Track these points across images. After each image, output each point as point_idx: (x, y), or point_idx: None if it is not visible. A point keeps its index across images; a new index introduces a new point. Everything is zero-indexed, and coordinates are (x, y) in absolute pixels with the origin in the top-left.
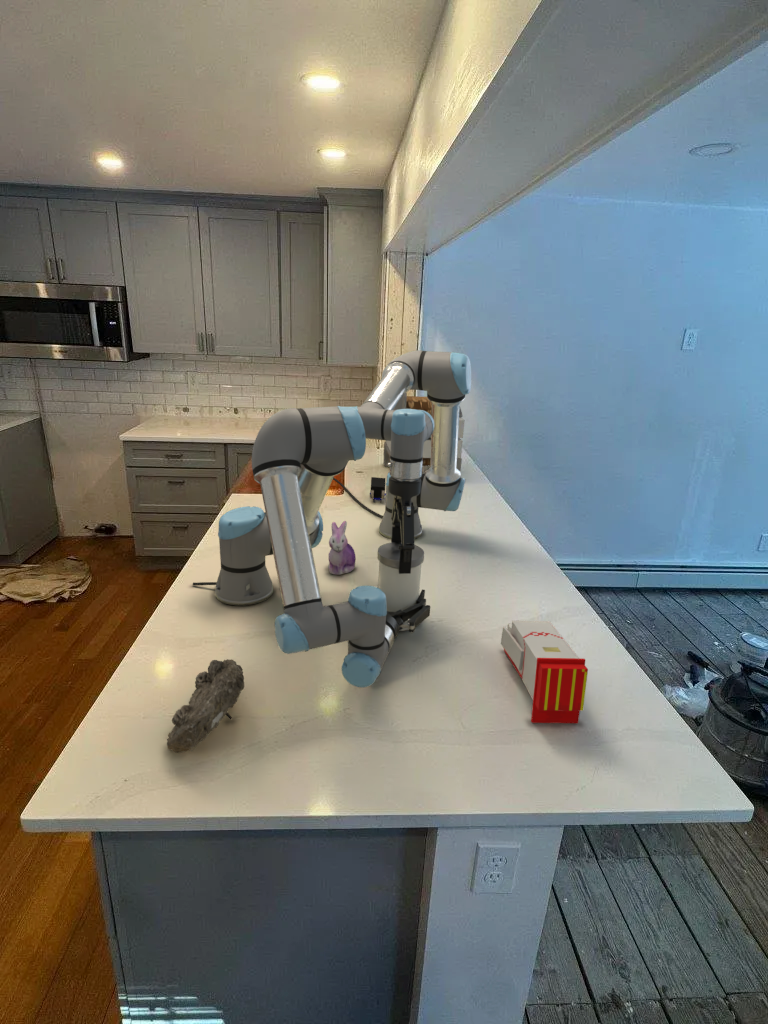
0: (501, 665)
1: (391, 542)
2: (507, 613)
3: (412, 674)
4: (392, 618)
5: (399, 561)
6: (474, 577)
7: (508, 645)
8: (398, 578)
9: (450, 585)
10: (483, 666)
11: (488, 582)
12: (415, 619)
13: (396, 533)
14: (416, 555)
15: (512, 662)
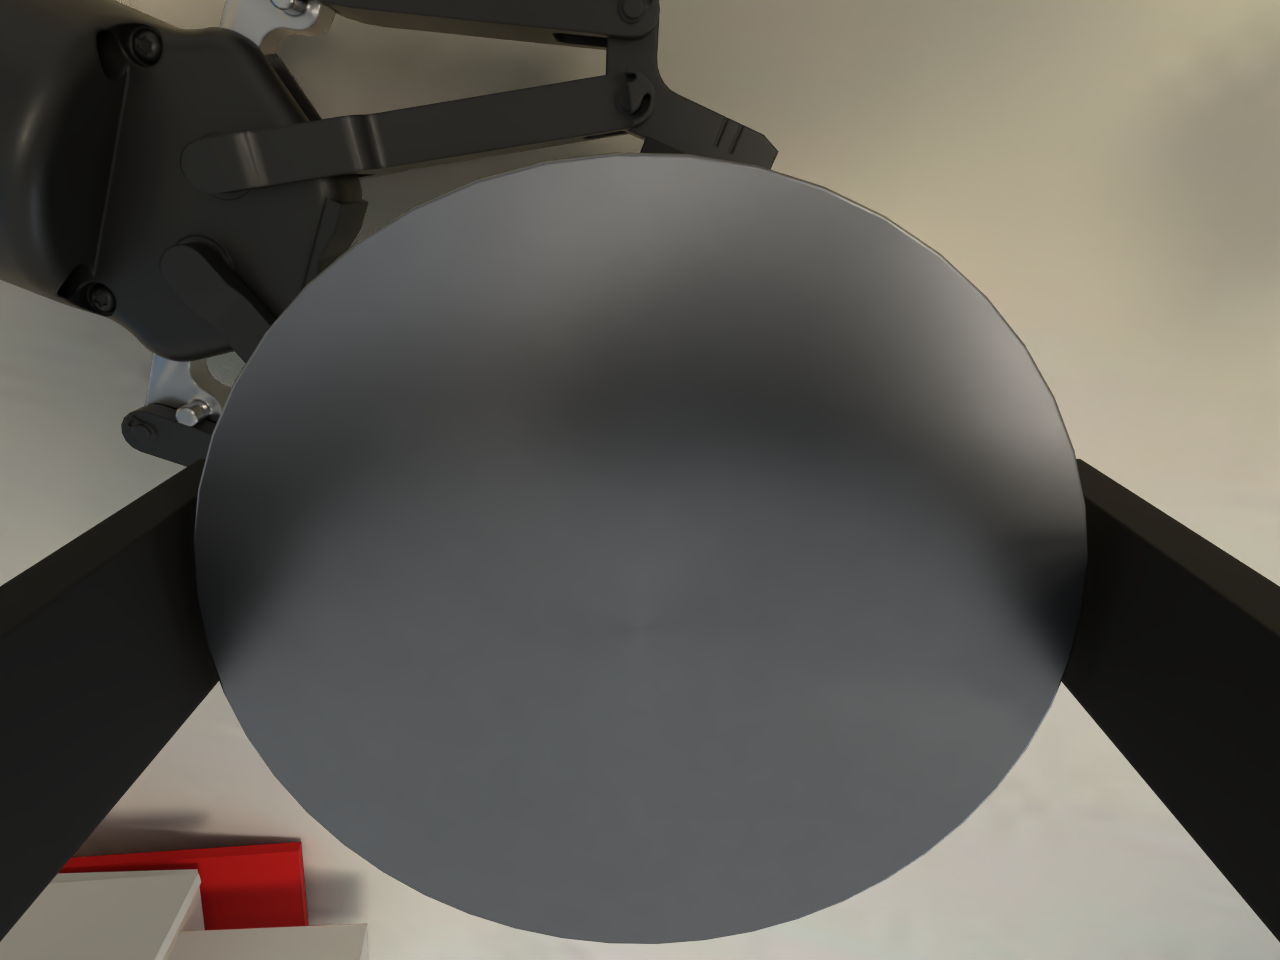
0: (178, 797)
1: (1157, 516)
2: (674, 944)
3: (4, 338)
4: (1, 255)
5: (118, 538)
6: (1120, 901)
7: (58, 923)
8: None
9: (1054, 758)
10: None
11: (1036, 950)
12: (188, 465)
13: (1238, 718)
14: (456, 829)
15: (119, 861)
